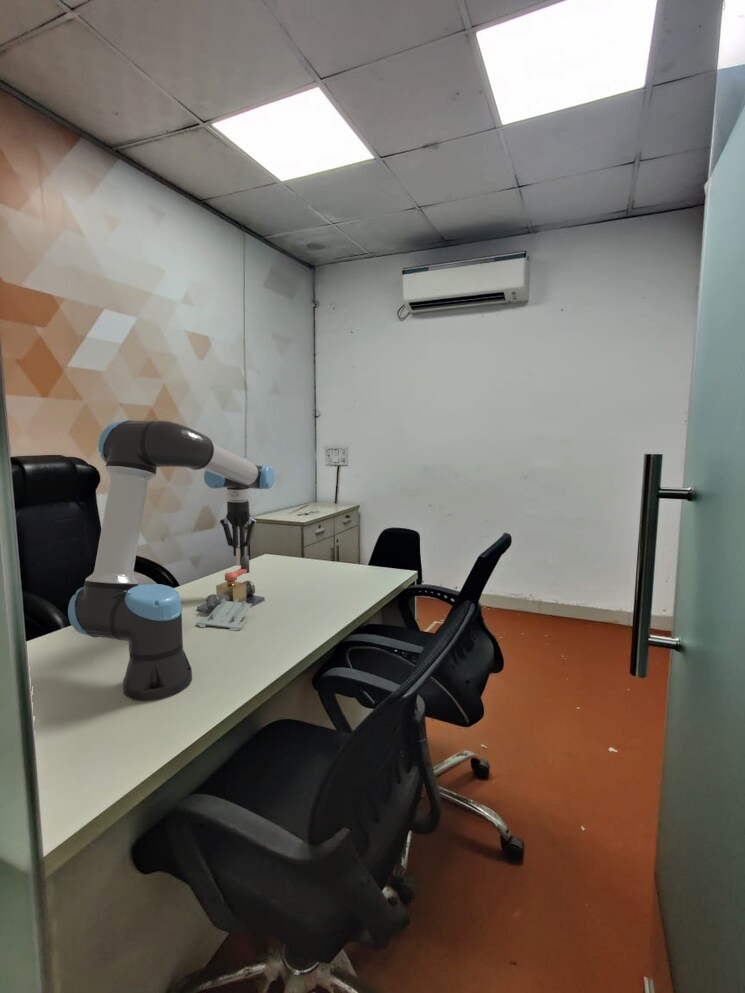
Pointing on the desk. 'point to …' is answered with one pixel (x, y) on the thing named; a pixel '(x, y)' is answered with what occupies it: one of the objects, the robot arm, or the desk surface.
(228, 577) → the lever
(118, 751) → the desk surface
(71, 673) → the desk surface
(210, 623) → the metal bracket
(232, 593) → the valve
